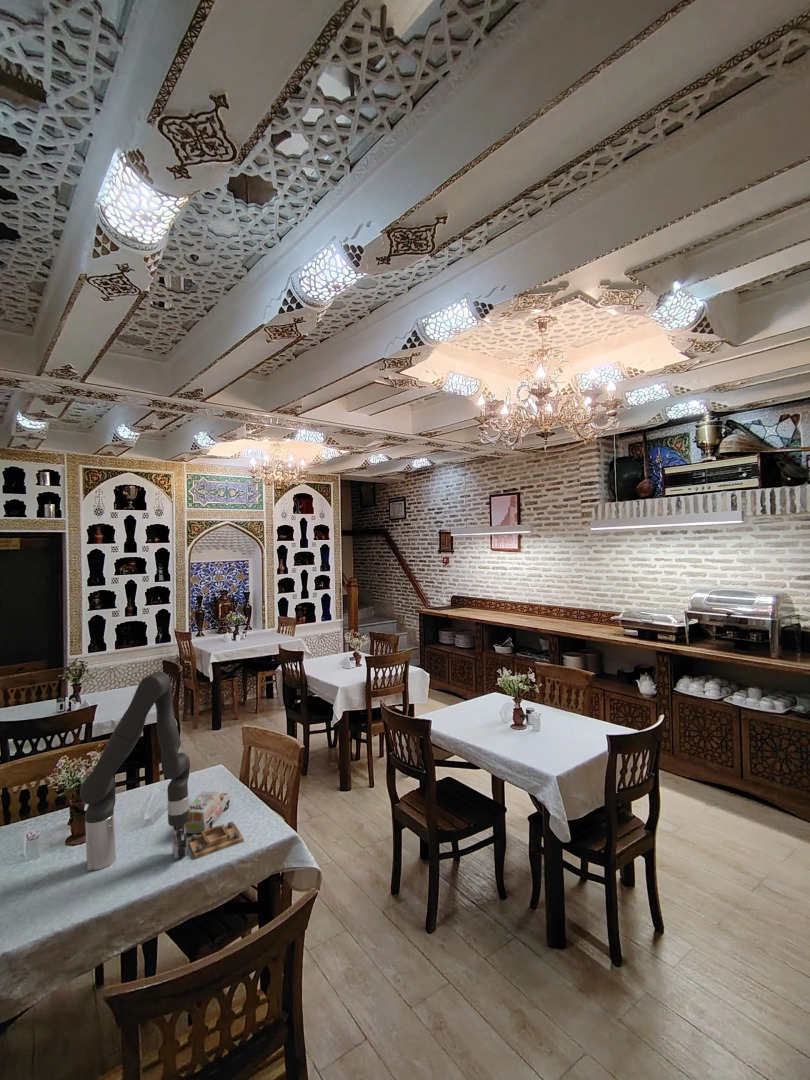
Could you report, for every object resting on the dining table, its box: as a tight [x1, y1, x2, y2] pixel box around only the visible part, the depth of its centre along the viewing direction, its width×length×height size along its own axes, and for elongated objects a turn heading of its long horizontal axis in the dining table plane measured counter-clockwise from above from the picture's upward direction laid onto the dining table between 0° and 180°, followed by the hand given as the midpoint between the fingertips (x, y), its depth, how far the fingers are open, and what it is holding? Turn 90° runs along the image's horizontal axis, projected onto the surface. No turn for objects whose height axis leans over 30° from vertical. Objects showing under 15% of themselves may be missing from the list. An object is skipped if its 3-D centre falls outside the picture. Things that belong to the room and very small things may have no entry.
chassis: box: [187, 821, 245, 860], centre depth 201 cm, size 18×14×3 cm
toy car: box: [185, 790, 231, 834], centre depth 217 cm, size 11×25×10 cm, turn 175°
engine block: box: [171, 836, 190, 861], centre depth 193 cm, size 5×4×7 cm
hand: (180, 854), depth 193 cm, fingers closed on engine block, 4 cm apart
